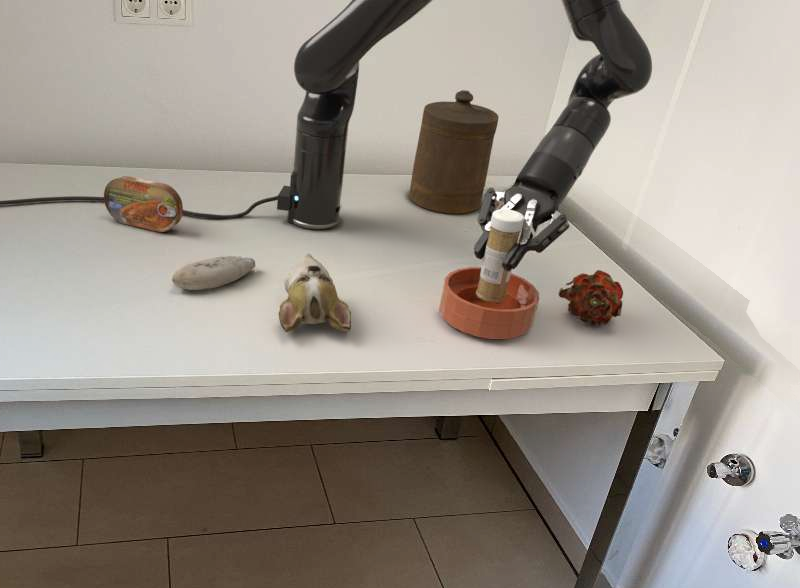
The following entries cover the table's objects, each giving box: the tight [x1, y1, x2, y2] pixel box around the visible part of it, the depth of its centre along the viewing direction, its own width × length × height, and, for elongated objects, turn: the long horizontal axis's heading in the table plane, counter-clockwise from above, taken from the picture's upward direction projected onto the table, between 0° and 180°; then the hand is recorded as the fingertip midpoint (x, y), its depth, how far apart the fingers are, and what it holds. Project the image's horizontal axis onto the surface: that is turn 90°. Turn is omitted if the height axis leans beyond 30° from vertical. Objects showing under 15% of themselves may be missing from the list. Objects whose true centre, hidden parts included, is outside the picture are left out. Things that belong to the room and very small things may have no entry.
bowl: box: [438, 266, 540, 340], centre depth 121 cm, size 14×14×6 cm
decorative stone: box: [171, 255, 256, 291], centre depth 126 cm, size 6×16×3 cm, turn 130°
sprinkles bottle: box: [476, 208, 524, 303], centre depth 116 cm, size 5×5×13 cm
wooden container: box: [408, 89, 500, 215], centre depth 157 cm, size 15×15×22 cm
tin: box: [103, 175, 184, 233], centre depth 140 cm, size 15×3×8 cm, turn 68°
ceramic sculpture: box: [278, 252, 352, 333], centre depth 117 cm, size 11×9×15 cm
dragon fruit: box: [558, 269, 624, 326], centre depth 123 cm, size 8×8×12 cm
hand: (491, 262), depth 115 cm, fingers closed on sprinkles bottle, 4 cm apart
